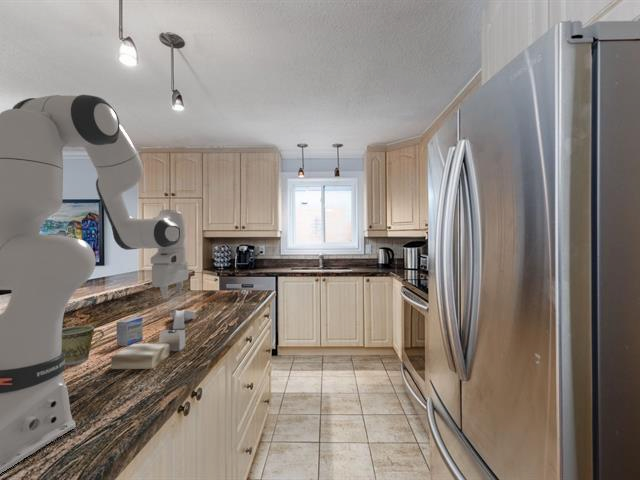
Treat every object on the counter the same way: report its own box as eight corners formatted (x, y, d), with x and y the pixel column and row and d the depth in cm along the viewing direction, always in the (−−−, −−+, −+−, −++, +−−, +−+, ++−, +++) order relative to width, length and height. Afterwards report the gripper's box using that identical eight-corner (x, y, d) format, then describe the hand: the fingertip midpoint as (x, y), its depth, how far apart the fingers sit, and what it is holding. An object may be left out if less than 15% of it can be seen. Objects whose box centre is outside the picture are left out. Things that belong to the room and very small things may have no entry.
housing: (179, 351, 109) (179, 332, 109) (159, 351, 109) (159, 332, 109) (185, 346, 114) (185, 329, 114) (165, 346, 114) (165, 329, 114)
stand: (152, 368, 94) (151, 355, 94) (111, 368, 94) (111, 355, 94) (169, 355, 105) (169, 343, 105) (133, 355, 105) (133, 343, 105)
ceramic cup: (46, 369, 94) (46, 335, 94) (64, 357, 103) (63, 326, 103) (97, 364, 97) (97, 332, 97) (109, 353, 107) (109, 323, 107)
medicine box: (126, 346, 114) (126, 322, 114) (116, 345, 115) (116, 321, 115) (143, 339, 122) (143, 317, 122) (133, 339, 123) (132, 316, 123)
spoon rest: (171, 318, 156) (171, 303, 156) (196, 316, 160) (196, 302, 160) (164, 331, 134) (164, 314, 134) (194, 328, 138) (194, 312, 138)
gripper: (176, 255, 122) (176, 291, 122) (147, 258, 101) (147, 302, 101) (192, 255, 122) (193, 291, 122) (167, 258, 101) (167, 301, 101)
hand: (172, 296), depth 112 cm, fingers open, 8 cm apart
